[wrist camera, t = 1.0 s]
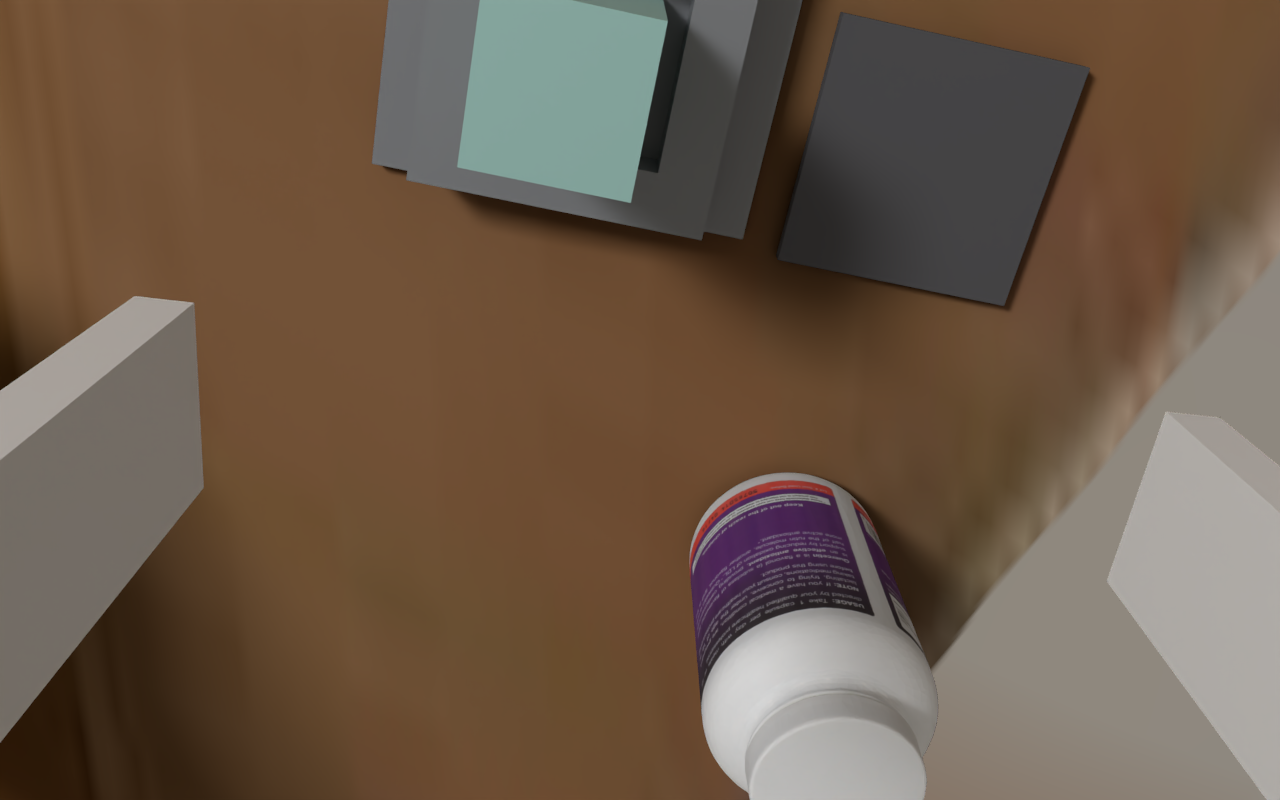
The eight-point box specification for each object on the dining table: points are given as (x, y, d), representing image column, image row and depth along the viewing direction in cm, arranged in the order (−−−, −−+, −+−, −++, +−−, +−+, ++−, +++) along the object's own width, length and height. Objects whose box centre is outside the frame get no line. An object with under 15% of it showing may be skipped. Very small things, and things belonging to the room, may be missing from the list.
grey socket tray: (375, 160, 39) (355, 176, 36) (410, -168, 35) (389, -177, 32) (741, 235, 40) (747, 257, 38) (818, -74, 36) (832, -75, 33)
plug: (513, 101, 38) (456, 167, 27) (533, -32, 36) (482, -20, 25) (636, 127, 38) (630, 203, 27) (662, -3, 36) (667, 21, 25)
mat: (776, 255, 41) (777, 259, 40) (840, 12, 37) (843, 13, 36) (999, 301, 41) (1003, 305, 41) (1083, 66, 38) (1090, 67, 37)
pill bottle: (654, 573, 46) (656, 824, 33) (752, 430, 44) (796, 643, 30) (808, 649, 48) (868, 918, 35) (912, 516, 45) (1020, 754, 32)
